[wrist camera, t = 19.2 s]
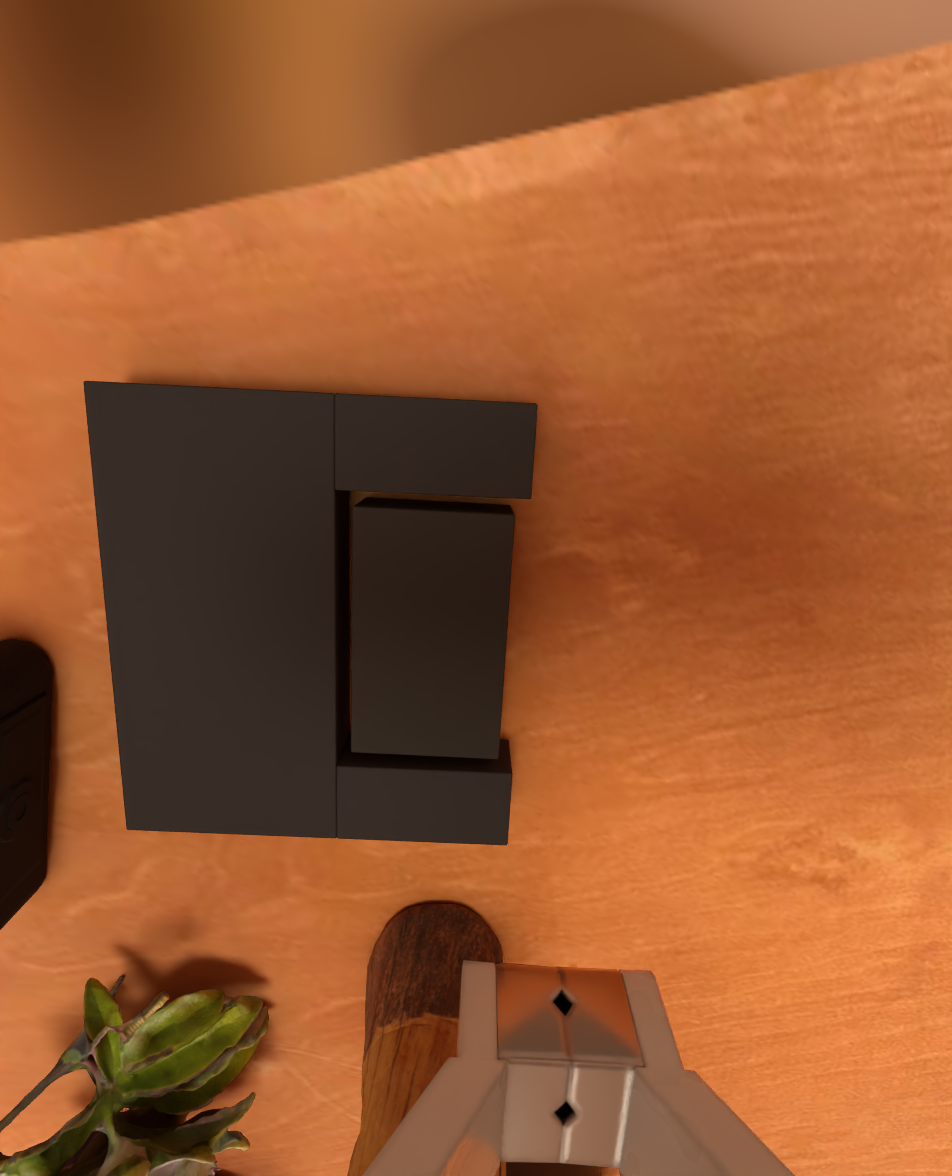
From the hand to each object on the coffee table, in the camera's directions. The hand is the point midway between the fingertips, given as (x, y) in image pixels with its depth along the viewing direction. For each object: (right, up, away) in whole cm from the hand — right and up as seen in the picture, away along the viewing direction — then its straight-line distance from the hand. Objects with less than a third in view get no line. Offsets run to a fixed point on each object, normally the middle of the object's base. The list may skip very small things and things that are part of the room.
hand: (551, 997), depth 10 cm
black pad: (-3, +5, +18) cm, 19 cm away
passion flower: (-18, -16, +24) cm, 34 cm away
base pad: (-7, +5, +18) cm, 20 cm away
